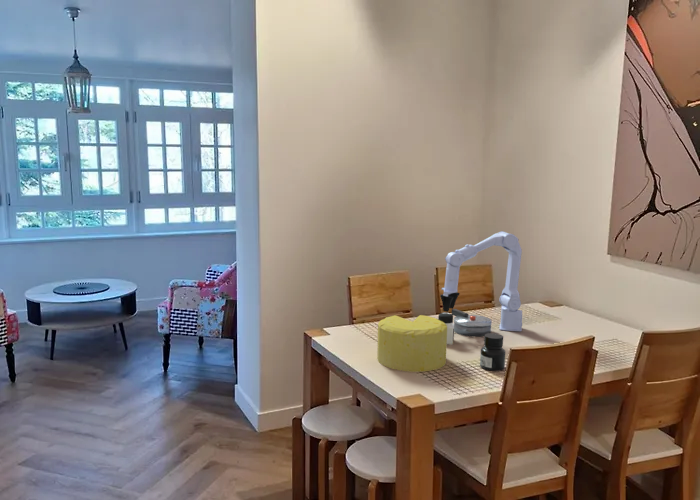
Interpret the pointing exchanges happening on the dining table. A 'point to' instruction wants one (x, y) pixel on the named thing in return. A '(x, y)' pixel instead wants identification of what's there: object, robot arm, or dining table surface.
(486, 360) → the ink bottle
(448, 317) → the medicine bottle
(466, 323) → the cooker lid
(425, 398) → the dining table surface
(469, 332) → the cooker pot
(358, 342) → the dining table surface
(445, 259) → the robot arm
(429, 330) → the cheese
